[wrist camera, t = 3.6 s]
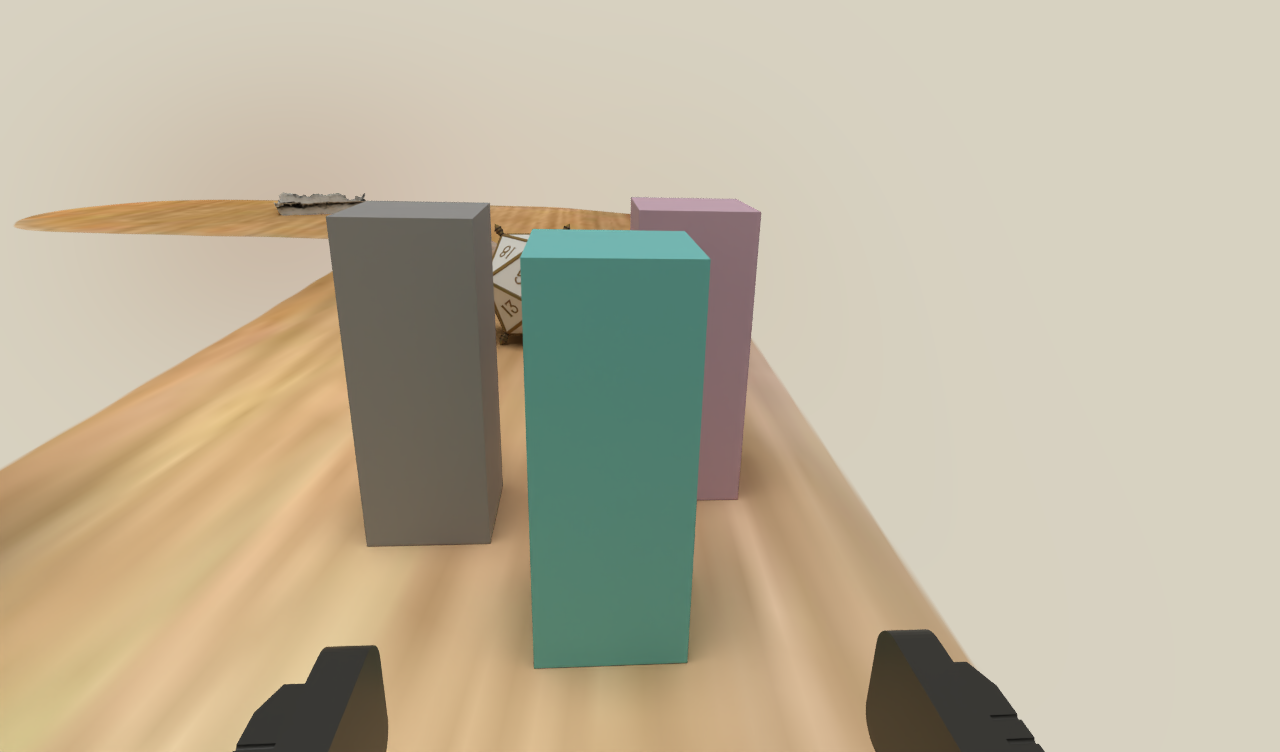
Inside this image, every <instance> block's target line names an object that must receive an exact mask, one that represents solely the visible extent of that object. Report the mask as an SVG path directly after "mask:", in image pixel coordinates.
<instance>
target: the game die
mask: <svg viewBox="0 0 1280 752" xmlns="http://www.w3.org/2000/svg"><path fill="white" fill-rule="evenodd" d="M563 230H570V224H568V225H567V226H564V229H563ZM495 231H496V234H498V235H500V238H499V241H498V243H497V246H496V249H495V251H494V254H493V256H492V265H493V286H494V308H495V313H496V315H497V317H498V319H499V321H500V324H501V326H502V328H503V330H504V334H503V335H501V338H500V345H501V344H503V343H505V342H507V341H506V340H507V339H508V335H518V334H523V329H522V299H521V270H520V257H521V254H522V252H523V250H524V248H525V245H526V243H527V241H528V238H529V236H530V234H504V233H503V229H502V228H501V226H498V225H496V224H495Z"/></svg>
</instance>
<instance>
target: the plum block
mask: <svg viewBox="0 0 1280 752" xmlns="http://www.w3.org/2000/svg"><path fill="white" fill-rule="evenodd" d="M760 221H761V212H760V211H758V210H756V209H754V208H752V207H750V206H748V205H746V204H745V203H743V202H741V201H739V200H737V199H704V198H703V199H701V198H700V199H699V198H647V197H646V198H645V197H643V198H642V197H631V228H630V230H638V231H685V232H686V233H687V234H688V235H689V236H690V237H691V238H692V239H693V240H694V242H695V243H696V244H697V245H698V246H699V247H700V248H701V249H702V250H703V251H704V252H705V254H706V255H707V256H708V257H709V258H710V259H711V264H710V281H709V298H708V316H707V333H706V350H705V367H704V384H703V401H702V418H701V436H700V453H699V470H698V487H697V500H727V499H738V489H739V477H740V464H741V452H742V440H743V428H744V416H745V403H746V391H747V379H748V367H749V355H750V343H751V330H752V318H753V305H754V293H755V281H756V269H757V256H758V244H759V232H760Z"/></svg>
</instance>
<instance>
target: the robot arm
mask: <svg viewBox="0 0 1280 752" xmlns="http://www.w3.org/2000/svg"><path fill="white" fill-rule="evenodd" d="M866 719H867V726H868V731H869V735H870V739H871V742H872V744H873V747H874V749H875V751H876V752H1044V750H1043V749H1042V747H1041V746H1040V745H1039V744H1036V743H1035V741H1034V737H1033V735H1032V734H1031V732H1030V731H1029V730H1028V728H1027V727H1026V725H1025V724H1024V723H1023V721H1022V720H1018V718H1017V713H1016V712H1015V710H1014V709H1013V708H1012V706H1011V705H1010V703H1009V702H1008V701H1007V699H1006V698H1005V697H1004V695H1003V694H1002V692H1001V691H1000V690H999V688H998V687H997V686H996V685H995V684H994V683H993V682H991V681H990V680H989V679H988V678H986V677H985V676H984V675H982V674H981V673H980V672H979V671H977V670H976V669H975V668H974V667H972V666H971V665H970V664H969V663H967V662H953V661H952V659H951V658H950V656H949V655H948V653H947V652H946V650H945V649H944V647H943V646H942V644H941V643H940V641H939V640H938V638H937V637H936V636H935V635H934V633H932V632H931V631H930V630H926V629H924V630H893V631H882V632H881V633H880V634H879V636H878V639H877V643H876V649H875V655H874V661H873V666H872V672H871V678H870V684H869V690H868V695H867V701H866ZM387 741H388V717H387V709H386V701H385V693H384V685H383V677H382V669H381V661H380V654H379V650H378V648H377V647H376V646H375V645H370V646H339V647H325V648H324V649H323V650H322V651H321V653H320V654H319V656H318V658H317V660H316V662H315V664H314V666H313V669H312V671H311V673H310V675H309V677H308V679H307V681H306V683H305V684H284V685H283V686H282V687H281V688H280V689H279V690H278V691H276V692H275V693H274V694H273V695H272V696H271V697H270V698H269V699H268V700H267V701H266V702H265V703H264V704H263V705H262V706H261V707H260V708H259V709H257V710H256V711H255V712H254V714H253V716H252V718H251V719H250V721H249V723H248V725H247V727H246V728H245V730H244V732H243V734H242V736H241V738H240V739H239V741H238V743H237V747H236V751H233V752H386V749H387Z"/></svg>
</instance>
